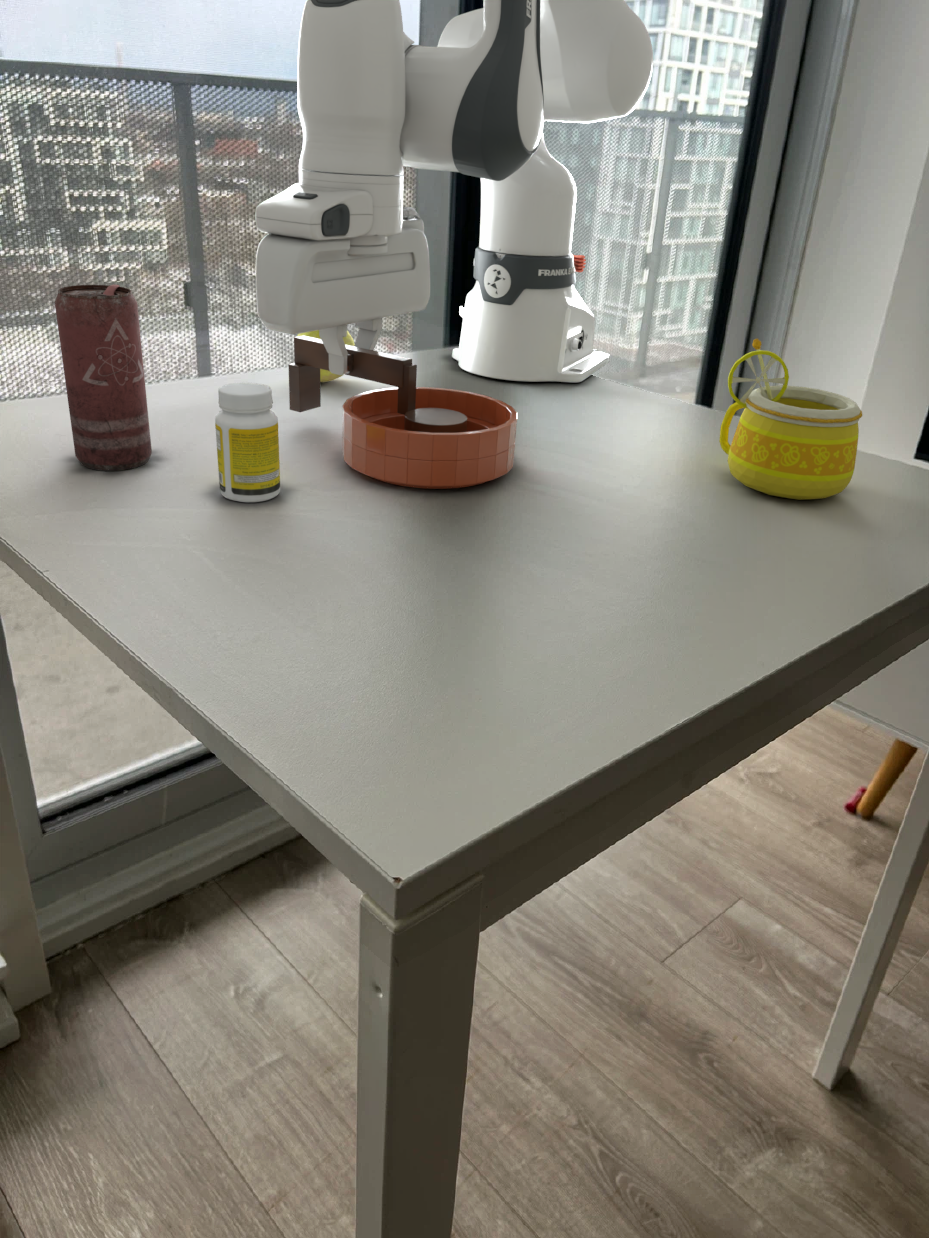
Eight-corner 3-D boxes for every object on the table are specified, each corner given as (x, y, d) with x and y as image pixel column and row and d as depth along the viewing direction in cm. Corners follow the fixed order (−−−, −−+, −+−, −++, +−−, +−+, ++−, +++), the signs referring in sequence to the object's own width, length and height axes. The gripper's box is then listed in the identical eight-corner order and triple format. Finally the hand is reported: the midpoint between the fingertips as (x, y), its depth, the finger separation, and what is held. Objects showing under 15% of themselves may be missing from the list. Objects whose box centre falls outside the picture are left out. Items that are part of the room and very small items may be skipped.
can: (164, 451, 83) (149, 285, 77) (134, 475, 77) (116, 297, 71) (97, 445, 83) (77, 279, 77) (63, 468, 78) (38, 291, 71)
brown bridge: (477, 442, 86) (482, 367, 83) (442, 456, 82) (446, 377, 78) (319, 401, 95) (318, 332, 92) (280, 412, 91) (277, 340, 87)
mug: (868, 490, 85) (905, 356, 80) (811, 516, 78) (846, 371, 73) (744, 453, 93) (770, 329, 87) (682, 474, 86) (705, 340, 81)
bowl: (411, 429, 94) (413, 378, 91) (543, 463, 87) (548, 409, 84) (307, 464, 82) (306, 408, 80) (449, 507, 75) (452, 446, 73)
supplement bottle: (293, 493, 76) (290, 389, 72) (250, 508, 72) (244, 400, 68) (250, 479, 78) (245, 377, 74) (207, 493, 75) (199, 387, 71)
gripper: (395, 202, 90) (392, 349, 97) (239, 209, 75) (247, 382, 81) (449, 209, 87) (442, 359, 94) (298, 217, 72) (302, 396, 78)
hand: (351, 370), depth 87 cm, fingers closed on brown bridge
